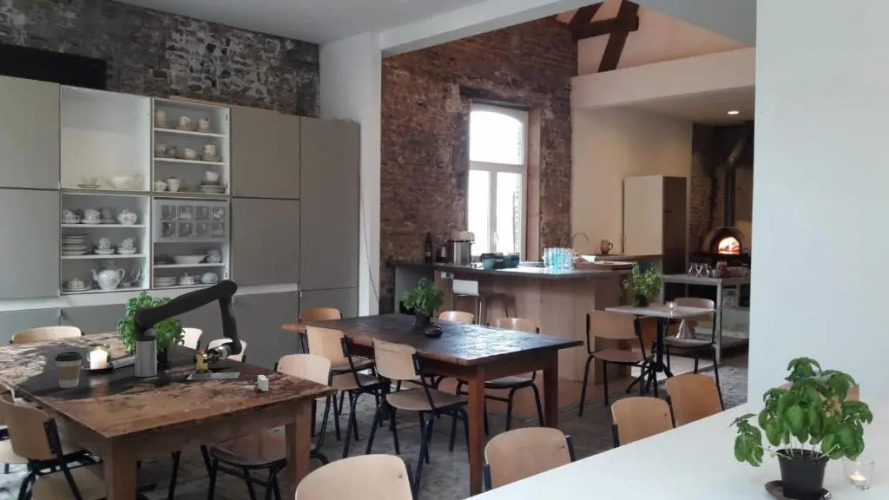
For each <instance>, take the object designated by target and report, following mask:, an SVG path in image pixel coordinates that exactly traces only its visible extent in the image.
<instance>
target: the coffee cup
mask: <svg viewBox="0 0 889 500" xmlns="http://www.w3.org/2000/svg"><path fill="white" fill-rule="evenodd" d="M82 360H83V355H81V352H79V351H64V352H60V353H57V354H56V356H55V357H54V361H55V364H56V368H57V369H56V370H57V377H58V383H59V386H60V388H61V389H71V388H76V387H78V386H79V379H80V375H81V374H80V373H81V364H82Z"/></svg>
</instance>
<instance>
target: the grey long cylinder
mask: <svg viewBox="0 0 889 500" xmlns="http://www.w3.org/2000/svg"><path fill="white" fill-rule="evenodd" d="M134 356H135V355H132V356H128V357H124V358H120V359H115V360H113V361H110V362H108V364H109V365H111V366H113V369H112V370H115V369H119V368H122V367H125V366H127V365H131V364H135V357H134ZM109 365H108V366H109Z"/></svg>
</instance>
